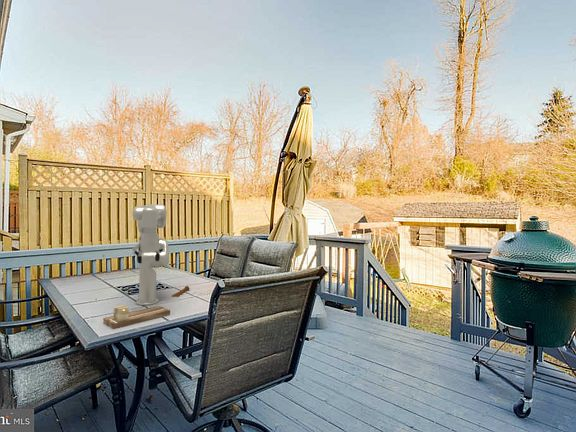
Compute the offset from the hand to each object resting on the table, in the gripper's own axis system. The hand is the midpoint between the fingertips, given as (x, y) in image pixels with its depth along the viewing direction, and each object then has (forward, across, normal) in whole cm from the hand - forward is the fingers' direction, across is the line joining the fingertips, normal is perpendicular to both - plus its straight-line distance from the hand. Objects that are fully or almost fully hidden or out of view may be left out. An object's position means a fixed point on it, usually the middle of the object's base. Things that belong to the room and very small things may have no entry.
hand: (148, 262), depth 172 cm
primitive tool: (+31, +35, +25) cm, 53 cm away
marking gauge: (+25, -17, -8) cm, 31 cm away
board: (+28, -8, -6) cm, 30 cm away
